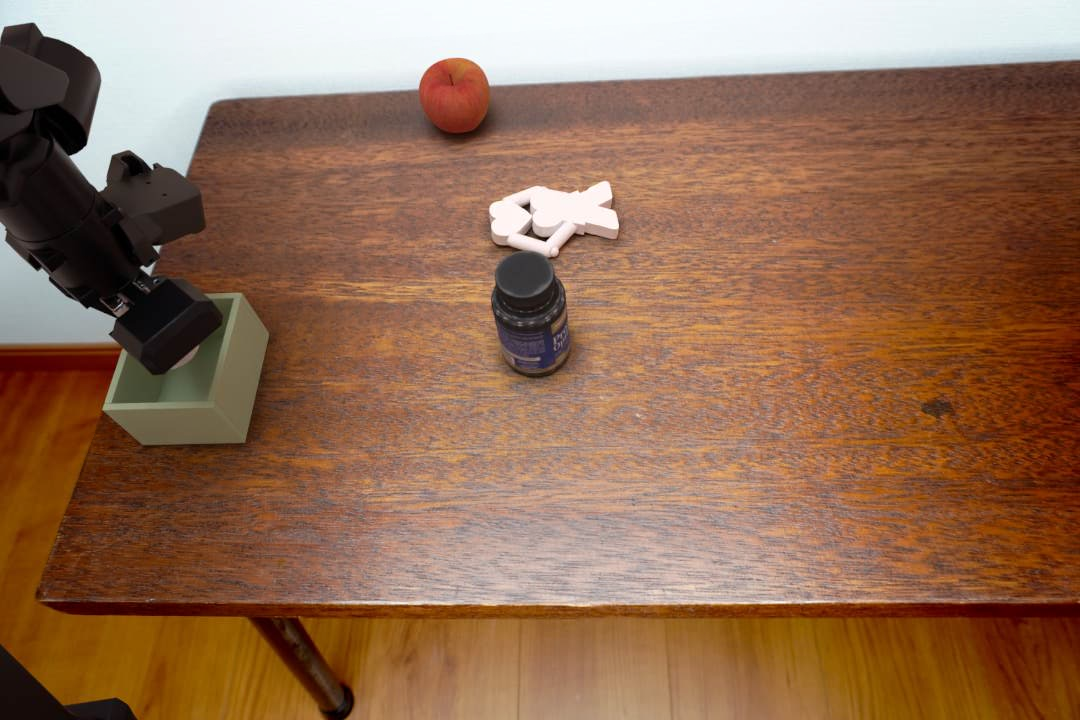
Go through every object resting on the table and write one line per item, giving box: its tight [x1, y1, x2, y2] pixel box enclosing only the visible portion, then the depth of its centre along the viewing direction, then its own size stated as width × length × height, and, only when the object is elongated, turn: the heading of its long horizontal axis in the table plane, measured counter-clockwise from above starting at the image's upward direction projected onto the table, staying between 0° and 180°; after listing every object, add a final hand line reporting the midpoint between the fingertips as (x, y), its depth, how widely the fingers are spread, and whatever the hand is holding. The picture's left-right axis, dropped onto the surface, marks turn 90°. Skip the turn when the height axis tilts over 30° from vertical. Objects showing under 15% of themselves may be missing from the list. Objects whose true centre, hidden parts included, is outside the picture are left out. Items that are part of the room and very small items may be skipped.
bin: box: [101, 292, 270, 446], centre depth 71 cm, size 11×9×7 cm
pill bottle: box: [490, 250, 571, 377], centre depth 68 cm, size 6×6×11 cm
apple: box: [418, 57, 491, 134], centre depth 85 cm, size 7×7×8 cm
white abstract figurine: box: [488, 180, 620, 259], centre depth 79 cm, size 9×12×2 cm
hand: (164, 339), depth 66 cm, fingers closed on rook chess piece, 4 cm apart
